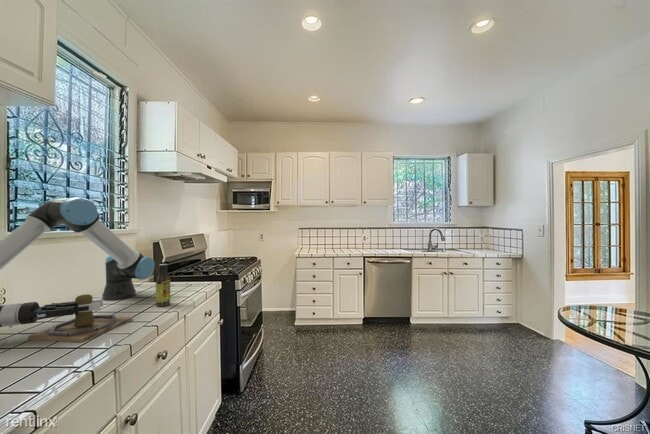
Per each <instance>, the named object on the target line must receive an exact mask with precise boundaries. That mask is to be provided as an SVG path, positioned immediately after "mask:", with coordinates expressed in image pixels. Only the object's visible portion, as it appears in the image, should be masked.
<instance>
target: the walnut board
mask: <svg viewBox="0 0 650 434" xmlns="http://www.w3.org/2000/svg"><path fill="white" fill-rule="evenodd" d="M110 321H112V319H107V318H94V323H92V324H89V325H85V326H74V323H75V322H73V323H70V324H67V325H64V326H62V327H59V328H56V330H55V331H57V332H74V331H79V330H85V329H90V328H95V327H98V326H100V325H103V324H105V323H108V322H110ZM131 321H133V317H132V316H115V324H112V325H110V326H107V327H105V328H103V329H100V330H98V331H94V332H89V333H83V334H78V335H73V336H51V335H49V331H50V329H51V328H52V327H50V328H47V329H44V330H42V331H38V332H35V333H33V334H30V335H28V337H27V338H28V340H32V341H33V340H37V341H53V342H67V343H68V342H71V343H84V342H86V341H88V340H90V339H92V338H94V337H97V336H99V334H100V335H102V334H104V333H107V332H109V331H111V330H113V329H115V328H118V327H120V326H122V325H125V324H127V323H130V322H131ZM83 341H84V342H83Z"/></svg>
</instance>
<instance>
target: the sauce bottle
mask: <svg viewBox="0 0 650 434" xmlns="http://www.w3.org/2000/svg"><path fill="white" fill-rule="evenodd" d="M168 267H169V264H168V263H160V264H158V275H157V277H156V279H155V306H156V307H166V306H169V305H170V304H171V277H170V275H169V273H168V269H169V268H168Z"/></svg>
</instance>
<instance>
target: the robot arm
mask: <svg viewBox="0 0 650 434" xmlns="http://www.w3.org/2000/svg"><path fill="white" fill-rule="evenodd" d="M100 219H101V216H100V214H99V211H98V207H97V205H96V204H95V203H94V202H93V201H91V200H90V199H87V198H84V197H77V196H76V197H74V196H73V197H65V198H62V197H61V198H53V199H51V200H48V201H46V202H44V203H43V204H41V205H40V206H39V207H37V208H35V209H34V210H33V211H32V212H30V213H29V214H28V215H27V216H26V217H25V221H23V222H22V223H21V224H20V225H19V226H18V227H16V228H15V229H14V230H13V231H11V232H10V233H9V234H8V235H6V236H7V237H6V236H5V237H4V238H3V239H1V240H2V241H1V240H0V271H2V269H4V267H6V266H7V265H8V264H10V262H12V260H14V259H16V257H18V256H19V255H20V254H21V253H22V252H23V251H24V250H25V249H27V248H28V247H29V246H30V245H31V244H33V243H34V242H35V241H36V240H37V239H39V238H40V237H41V236H42V235H43V234H45V233H49V232H51V231H52V230H53V229H54V228H56V227H58V226H60V225H62V226H63V225H64V226H67V228H70V230H71V231H73V232H74V233H75V234H76V233H77V234H81V233H82V235H84V236H85V237H86V238H87V239H88V240H90V241H91V242H92V243H93V244H95V245H96V246H97V247H98V248H100V249H101V250H102V251H103V252H104V253H106V254H107V255H108V256H107V257H106V258H105V262H104V265H105V286H104V290H103V293H102V294H101V298H102V299H96V300H95V299H94V300H92V302H91V304H83V305H78V306H77V304H76V303H75V300H73V301H65V302H53V303H51V304H44V305H43V306H40V305H39V304H40V303H39V302H37V301H30V302H23V303H21V302H20V303H19V302H18V303H10V304H2V305H0V328H5V327H8V328H13V327H14V326H19V325H29V324H34V323H36V322H38V321H39V320H44V319H50V318H51V319H52V318H57V317H59V318H60V317H66V316H76V315H78V313H79V312H87V311H92V312H93V311H94V312H95V311H100V310H101V308H103V307H104V301H117V300H123V299H128V298H131V297H134V296H136V294H137V291H136V289H135V287H134V283H133V279H134V280H142V279H143V280H145V279H148V278H150V277H151V275H152V274H153V272H154V270H155V261H154V259H153V258H152V257H150V256H147V255H143V254H142V253H141V251H139V250H137V249H132V248H131V247H129V245H127V244H126V243H125V242H124V241H123V240H122V239H121V238H120V237H119V236H118V235H116V233H114V231H112V230H111V229H110V228H109V227H107V225H106V224H104V223H103V222H102V221H101V220H100Z"/></svg>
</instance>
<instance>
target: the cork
mask: <svg viewBox="0 0 650 434" xmlns="http://www.w3.org/2000/svg"><path fill="white" fill-rule="evenodd" d="M74 301H75V303H76V304H77V306H78V305H83V304H91V302H92V301H93V295H91V294H90V293H89V294H80V295H78V296H76V297H75V299H74ZM93 315H94V313H93V311H87V312H79V313H78V315H74V316H75V317H74V319H75V323H74V326H85V325H89V324H92V323H94V317H93Z"/></svg>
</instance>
